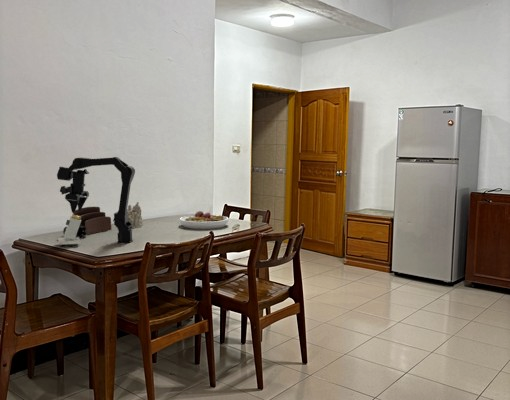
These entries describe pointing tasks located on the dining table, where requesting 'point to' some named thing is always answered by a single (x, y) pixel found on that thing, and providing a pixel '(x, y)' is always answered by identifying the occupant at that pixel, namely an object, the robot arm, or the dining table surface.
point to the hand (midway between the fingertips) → (76, 211)
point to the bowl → (203, 221)
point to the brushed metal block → (72, 226)
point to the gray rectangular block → (68, 241)
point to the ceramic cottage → (135, 216)
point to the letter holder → (93, 220)
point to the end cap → (79, 232)
